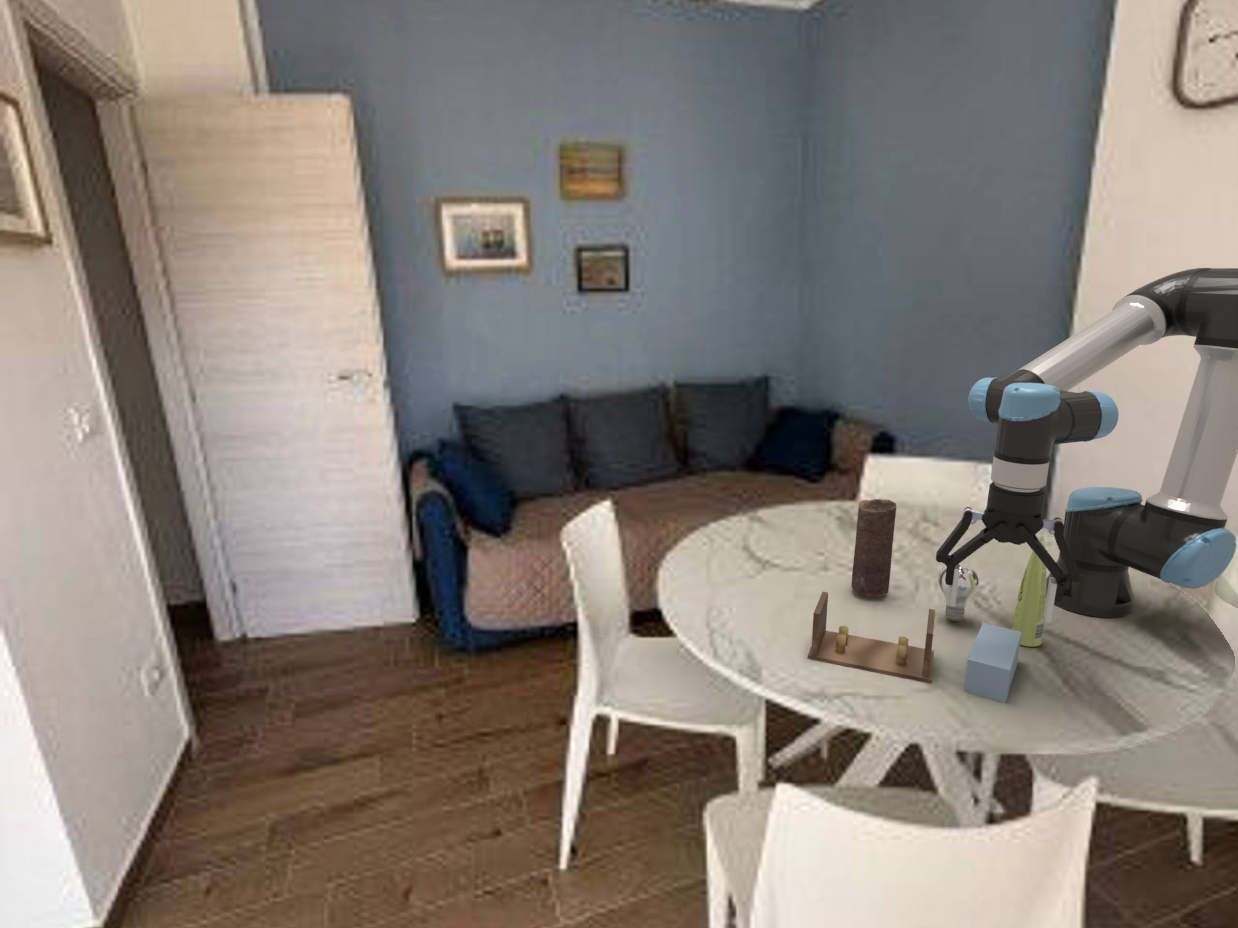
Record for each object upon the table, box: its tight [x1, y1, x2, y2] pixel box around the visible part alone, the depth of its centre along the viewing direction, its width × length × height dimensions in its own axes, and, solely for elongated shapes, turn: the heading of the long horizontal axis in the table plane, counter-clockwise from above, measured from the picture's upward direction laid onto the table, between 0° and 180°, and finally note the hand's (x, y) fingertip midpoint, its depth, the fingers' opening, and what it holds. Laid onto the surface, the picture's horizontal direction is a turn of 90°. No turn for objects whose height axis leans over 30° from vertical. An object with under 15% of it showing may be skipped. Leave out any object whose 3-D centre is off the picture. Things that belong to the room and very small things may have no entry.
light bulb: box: [937, 561, 980, 623], centre depth 138 cm, size 7×7×12 cm
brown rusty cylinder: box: [850, 498, 897, 598], centre depth 149 cm, size 8×7×20 cm
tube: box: [1011, 533, 1047, 648], centre depth 130 cm, size 6×5×20 cm
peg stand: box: [807, 591, 936, 684], centre depth 127 cm, size 20×10×9 cm, turn 65°
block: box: [963, 622, 1022, 704], centre depth 121 cm, size 6×14×6 cm, turn 146°
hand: (998, 610), depth 118 cm, fingers open, 13 cm apart
